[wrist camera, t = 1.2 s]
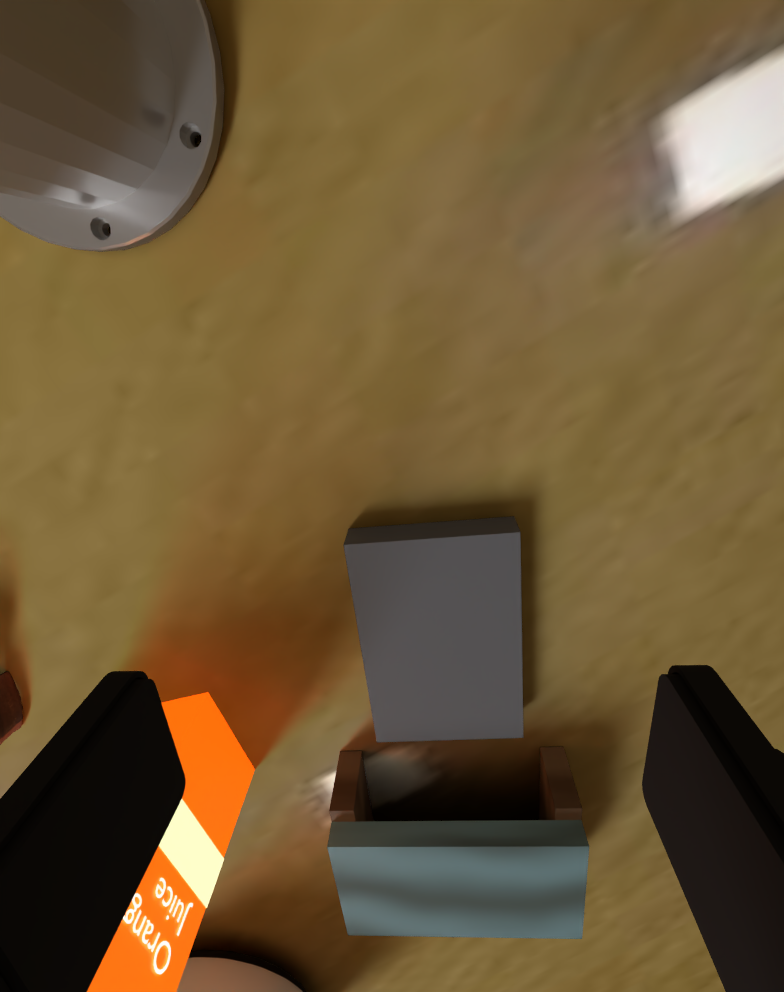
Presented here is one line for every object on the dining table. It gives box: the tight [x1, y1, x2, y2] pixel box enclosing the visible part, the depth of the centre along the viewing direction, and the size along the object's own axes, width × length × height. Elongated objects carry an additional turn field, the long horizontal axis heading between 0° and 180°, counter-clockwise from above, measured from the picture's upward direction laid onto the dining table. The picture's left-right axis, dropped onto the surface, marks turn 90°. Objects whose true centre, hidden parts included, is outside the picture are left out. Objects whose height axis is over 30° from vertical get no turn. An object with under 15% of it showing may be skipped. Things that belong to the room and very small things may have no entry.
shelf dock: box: [327, 747, 589, 939], centre depth 33 cm, size 12×15×6 cm
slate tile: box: [344, 516, 523, 742], centre depth 29 cm, size 14×9×2 cm, turn 6°
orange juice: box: [87, 692, 255, 992], centre depth 25 cm, size 8×9×20 cm
